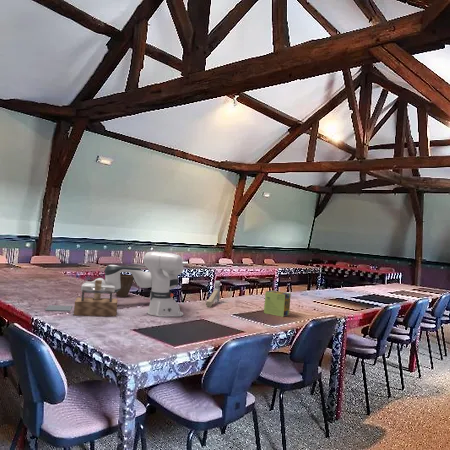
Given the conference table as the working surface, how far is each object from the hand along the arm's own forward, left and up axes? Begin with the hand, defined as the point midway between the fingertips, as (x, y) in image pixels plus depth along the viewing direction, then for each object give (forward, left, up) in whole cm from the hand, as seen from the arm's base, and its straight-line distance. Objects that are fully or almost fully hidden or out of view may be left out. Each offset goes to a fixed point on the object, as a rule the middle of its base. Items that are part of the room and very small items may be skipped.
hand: (97, 290), depth 257 cm
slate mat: (+22, -8, -13) cm, 27 cm away
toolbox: (0, +2, -13) cm, 14 cm away
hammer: (-82, -41, -14) cm, 93 cm away
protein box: (-122, -12, -14) cm, 123 cm away
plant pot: (-16, -60, -14) cm, 63 cm away
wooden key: (0, -1, -9) cm, 9 cm away
